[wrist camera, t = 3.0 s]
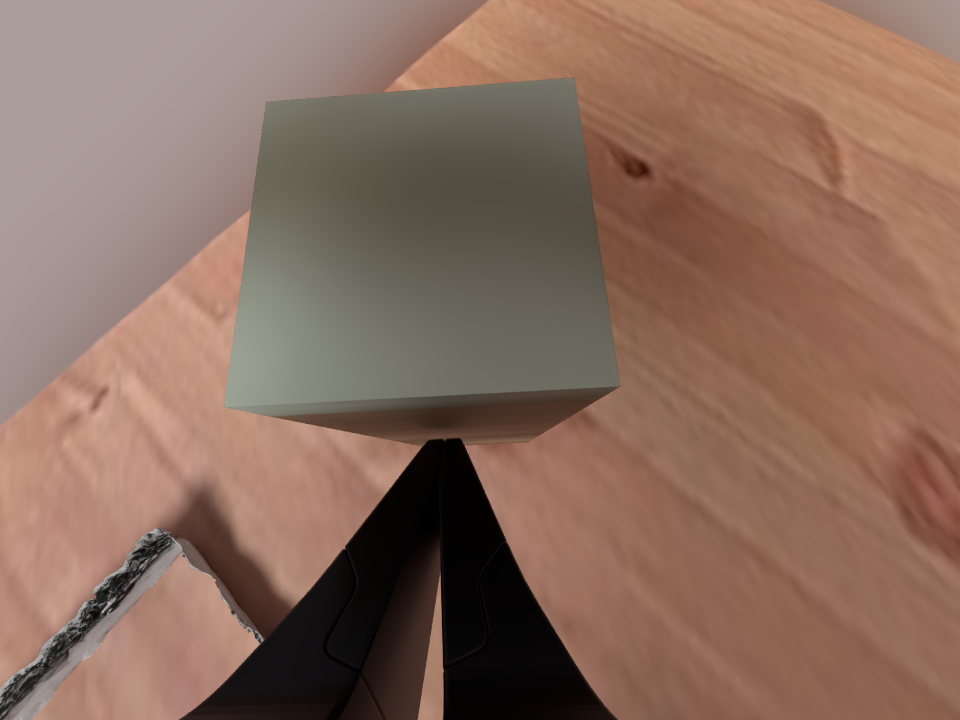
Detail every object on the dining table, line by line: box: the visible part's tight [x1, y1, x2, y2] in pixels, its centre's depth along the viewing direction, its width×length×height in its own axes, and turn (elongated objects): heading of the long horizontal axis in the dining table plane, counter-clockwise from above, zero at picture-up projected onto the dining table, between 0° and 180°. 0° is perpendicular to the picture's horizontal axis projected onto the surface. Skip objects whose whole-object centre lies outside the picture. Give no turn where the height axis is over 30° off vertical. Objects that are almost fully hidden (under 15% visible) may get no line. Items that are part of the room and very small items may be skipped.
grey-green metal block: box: [224, 78, 620, 446], centre depth 12 cm, size 5×5×14 cm
